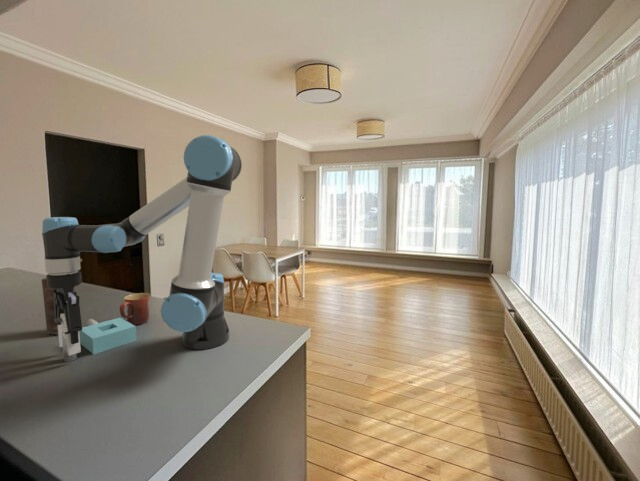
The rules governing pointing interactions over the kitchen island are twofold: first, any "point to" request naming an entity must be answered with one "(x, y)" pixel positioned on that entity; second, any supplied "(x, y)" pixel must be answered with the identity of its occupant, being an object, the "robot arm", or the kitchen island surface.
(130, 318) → the mug
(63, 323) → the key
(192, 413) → the kitchen island surface
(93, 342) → the chuck block
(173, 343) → the kitchen island surface
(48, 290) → the brown mottled cylinder
